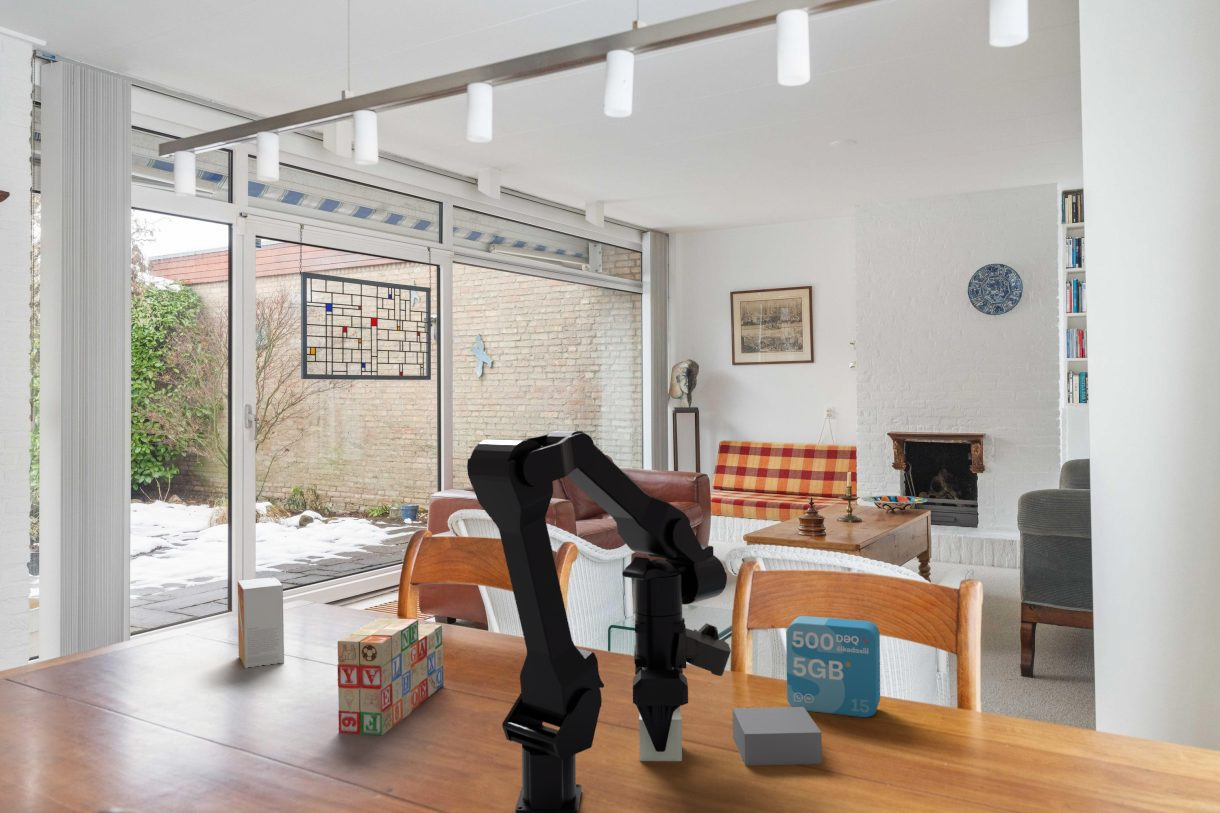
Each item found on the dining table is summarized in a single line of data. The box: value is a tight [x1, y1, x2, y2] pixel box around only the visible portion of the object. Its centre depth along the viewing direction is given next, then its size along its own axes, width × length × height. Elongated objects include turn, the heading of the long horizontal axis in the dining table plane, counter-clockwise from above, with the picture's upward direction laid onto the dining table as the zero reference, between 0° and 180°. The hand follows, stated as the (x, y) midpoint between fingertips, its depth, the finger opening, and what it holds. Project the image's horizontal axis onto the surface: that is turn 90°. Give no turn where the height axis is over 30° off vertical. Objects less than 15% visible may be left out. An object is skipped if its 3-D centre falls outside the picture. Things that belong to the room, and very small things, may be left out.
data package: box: [785, 615, 881, 718], centre depth 127 cm, size 12×4×12 cm, turn 68°
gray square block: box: [732, 706, 823, 766], centre depth 112 cm, size 9×9×4 cm
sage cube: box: [638, 706, 683, 762], centre depth 112 cm, size 5×5×5 cm
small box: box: [237, 577, 285, 669], centre depth 154 cm, size 8×6×13 cm
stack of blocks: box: [337, 617, 444, 736], centre depth 130 cm, size 21×6×12 cm, turn 169°
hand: (660, 740), depth 112 cm, fingers open, 7 cm apart
